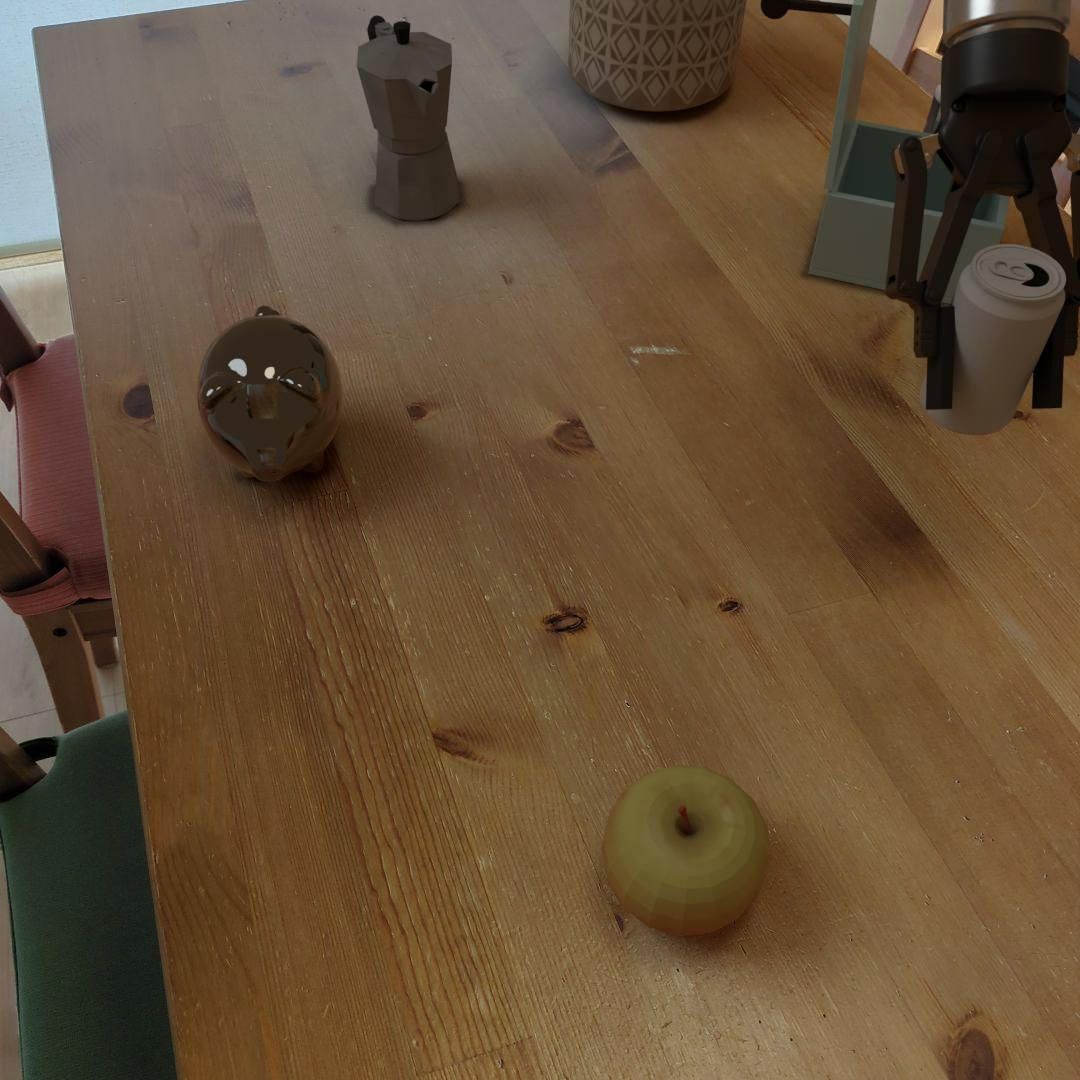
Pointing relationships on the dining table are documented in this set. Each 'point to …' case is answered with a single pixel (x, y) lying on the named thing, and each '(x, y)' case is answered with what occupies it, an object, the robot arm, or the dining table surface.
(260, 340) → the piggy bank
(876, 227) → the open box
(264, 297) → the dining table surface
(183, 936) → the dining table surface
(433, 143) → the coffeepot
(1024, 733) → the dining table surface
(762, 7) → the lid
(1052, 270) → the beverage can
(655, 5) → the planter
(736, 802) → the apple
